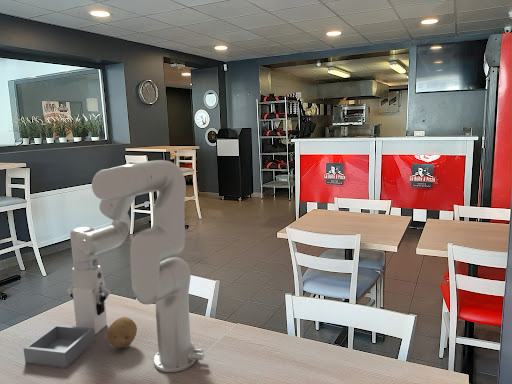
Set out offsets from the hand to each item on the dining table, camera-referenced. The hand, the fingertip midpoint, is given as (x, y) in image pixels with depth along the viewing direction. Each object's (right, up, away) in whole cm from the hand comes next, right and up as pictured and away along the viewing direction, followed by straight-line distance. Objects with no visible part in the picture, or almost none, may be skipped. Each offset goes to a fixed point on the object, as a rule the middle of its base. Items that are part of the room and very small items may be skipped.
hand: (90, 312), depth 137 cm
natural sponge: (+15, -8, -11) cm, 20 cm away
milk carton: (0, -6, +1) cm, 7 cm away
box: (-4, -9, -13) cm, 16 cm away
